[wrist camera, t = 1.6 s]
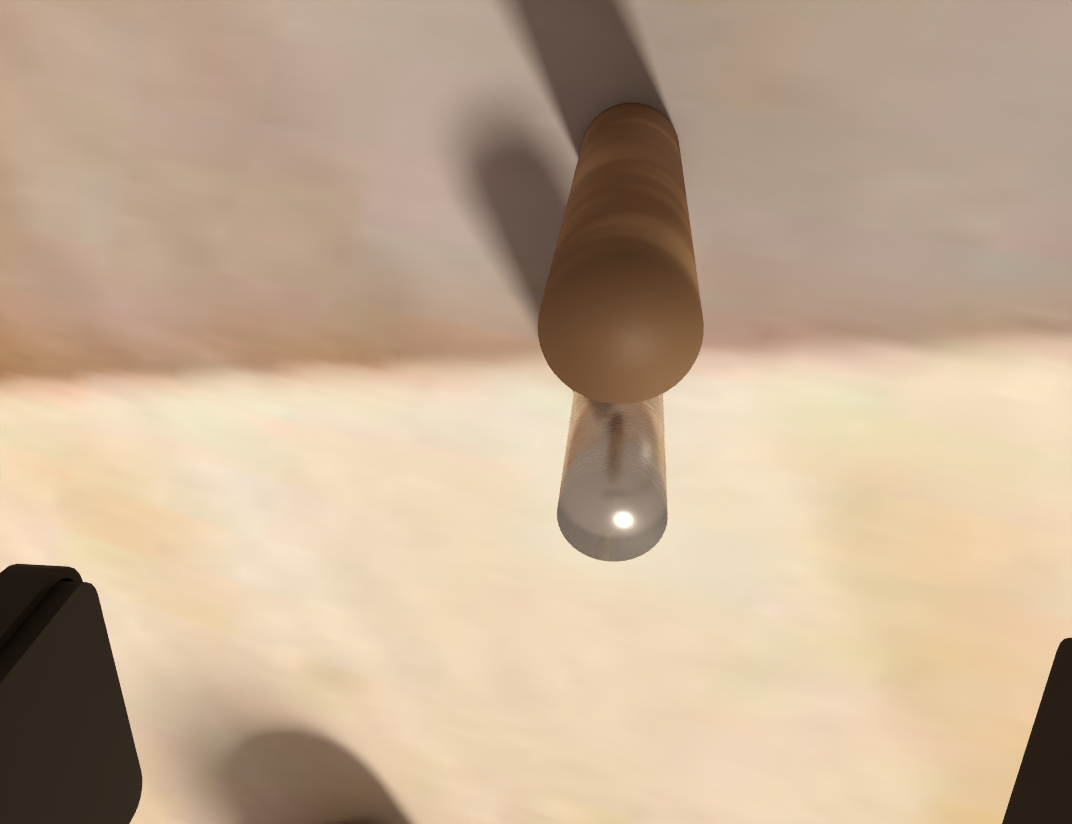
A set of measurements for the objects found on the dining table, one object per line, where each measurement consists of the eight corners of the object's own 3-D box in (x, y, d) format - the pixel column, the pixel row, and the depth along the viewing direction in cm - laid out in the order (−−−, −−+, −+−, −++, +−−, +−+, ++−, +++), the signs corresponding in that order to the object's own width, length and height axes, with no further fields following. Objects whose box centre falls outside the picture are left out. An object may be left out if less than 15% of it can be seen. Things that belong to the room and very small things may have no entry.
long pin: (682, 104, 30) (710, 254, 17) (675, 202, 31) (696, 407, 19) (582, 101, 30) (538, 247, 17) (580, 200, 31) (537, 400, 19)
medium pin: (665, 349, 33) (671, 472, 26) (659, 428, 35) (663, 564, 28) (576, 345, 34) (557, 465, 26) (574, 423, 35) (556, 557, 28)
